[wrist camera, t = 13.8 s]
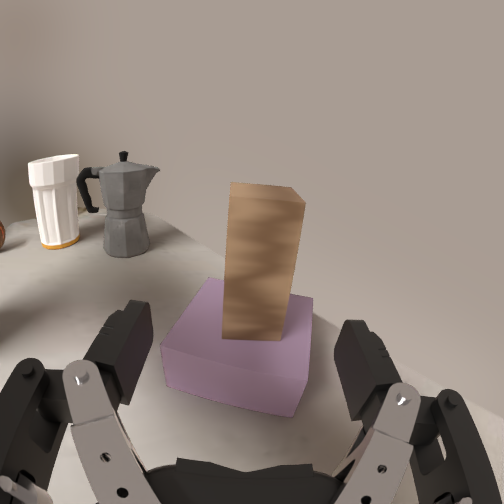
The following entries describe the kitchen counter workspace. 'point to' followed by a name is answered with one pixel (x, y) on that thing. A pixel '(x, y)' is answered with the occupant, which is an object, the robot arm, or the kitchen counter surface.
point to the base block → (238, 356)
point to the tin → (2, 234)
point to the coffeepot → (121, 204)
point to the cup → (56, 199)
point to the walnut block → (260, 260)
